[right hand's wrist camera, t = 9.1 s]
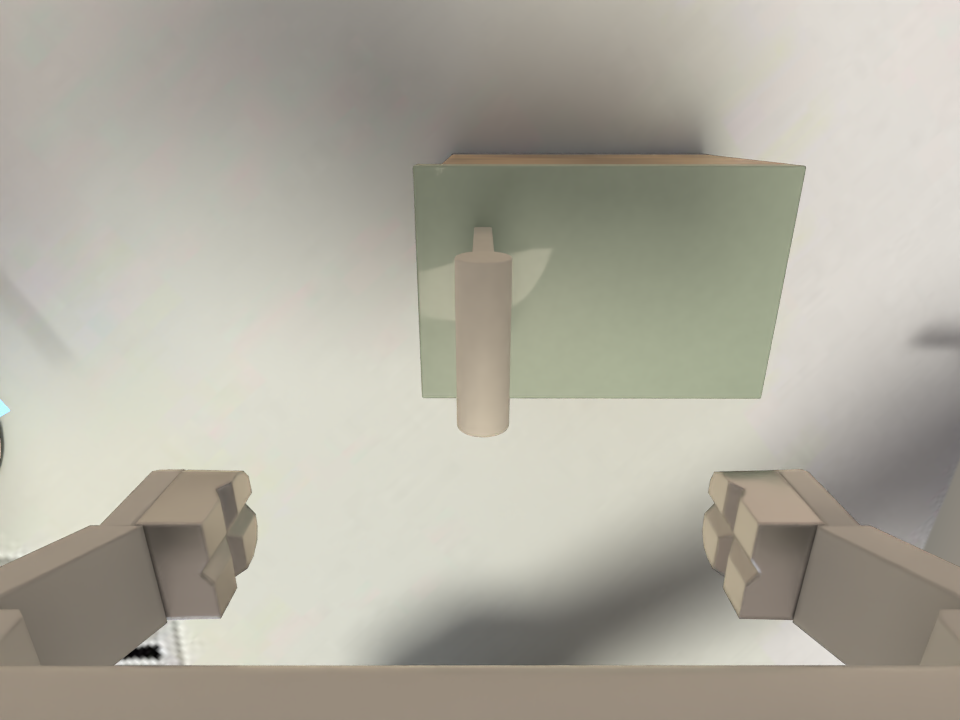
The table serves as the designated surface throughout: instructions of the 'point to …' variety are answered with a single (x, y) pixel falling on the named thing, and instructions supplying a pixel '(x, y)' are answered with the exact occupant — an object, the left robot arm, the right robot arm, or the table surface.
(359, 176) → the table surface
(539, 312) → the lid
